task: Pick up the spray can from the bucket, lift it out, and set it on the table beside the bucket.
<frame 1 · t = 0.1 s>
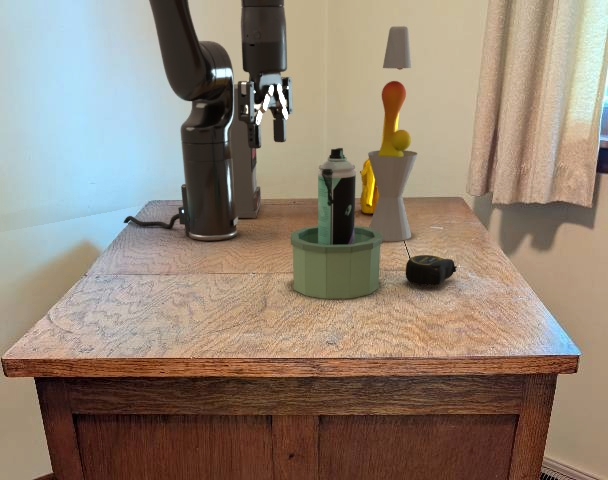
hand: (267, 145, 127), 17 cm above the table, tool pointing down, fingers open, 8 cm apart
grey piece: (245, 213, 160), on the table
spray can: (335, 286, 113), resting in bucket
bucket: (335, 285, 113), on the table
tape measure: (431, 284, 113), on the table
lava lamp: (388, 236, 139), on the table
figure statuette: (376, 213, 158), on the table
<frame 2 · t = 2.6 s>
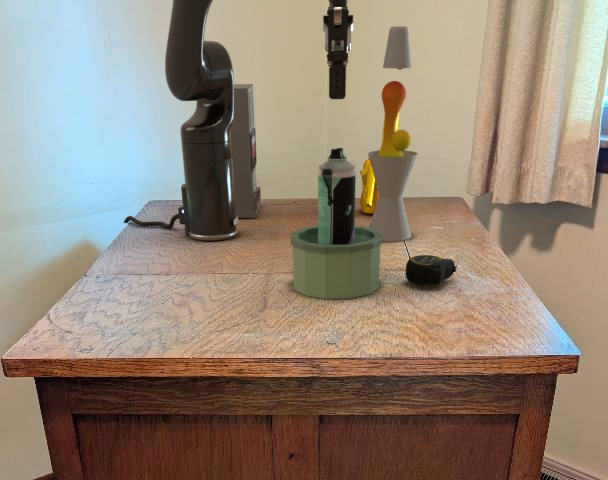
hand: (337, 96, 99), 27 cm above the table, tool pointing down, fingers open, 8 cm apart
nothing on the table moved.
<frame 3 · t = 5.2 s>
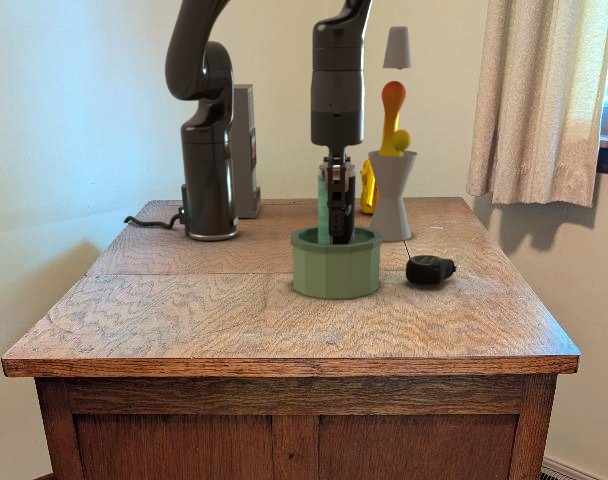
hand: (336, 230, 108), 9 cm above the table, tool pointing down, fingers closed on spray can, 5 cm apart
spray can: (335, 286, 113), resting in bucket, touching gripper
everything else where it was.
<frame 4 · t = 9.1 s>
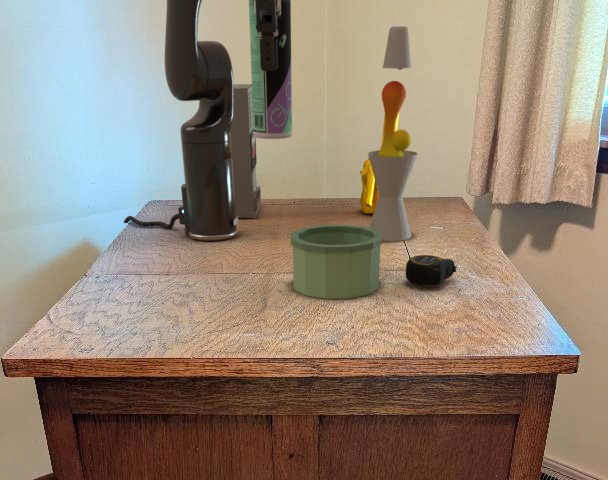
hand: (271, 68, 98), 30 cm above the table, tool pointing down, fingers closed on spray can, 5 cm apart
spray can: (272, 137, 102), point 21 cm above the table, touching gripper
everything else where it was.
when the fingers open (8 cm above the table, at t = 13.2 s): spray can stays where it is, on the table.
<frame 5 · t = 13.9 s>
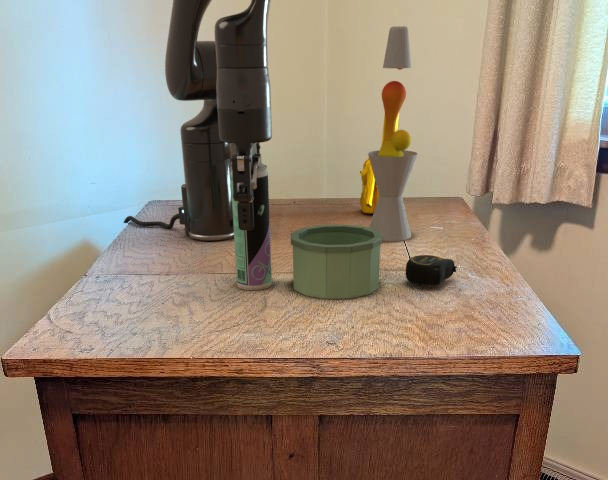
hand: (249, 222, 108), 10 cm above the table, tool pointing down, fingers open, 8 cm apart
spray can: (254, 286, 113), on the table
everything else where it was.
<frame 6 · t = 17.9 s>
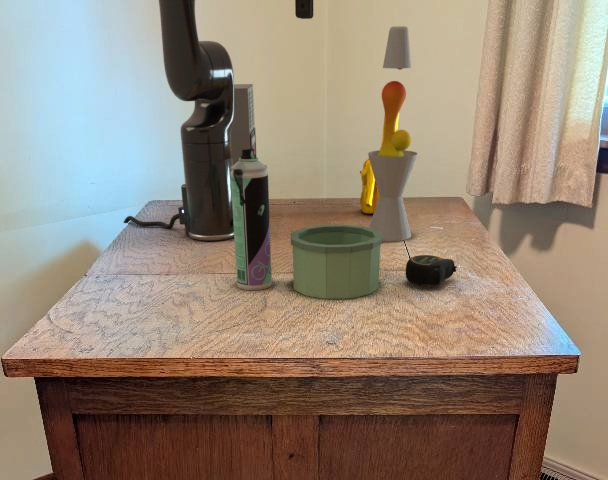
hand: (304, 18, 105), 36 cm above the table, tool pointing down, fingers open, 8 cm apart
nothing on the table moved.
at the end: spray can inside the target area (0.2 cm from its centre), on the table; spray can tilted 0°; the gripper is holding nothing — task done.
